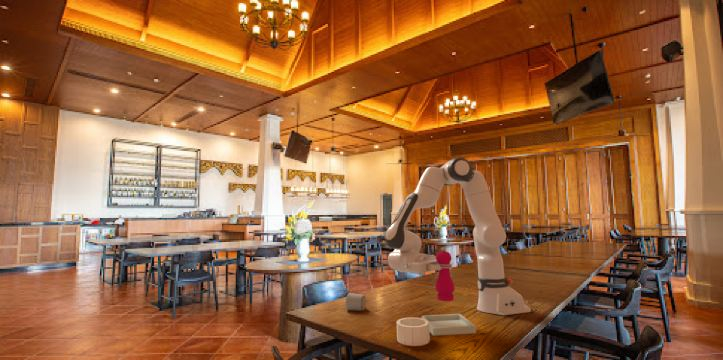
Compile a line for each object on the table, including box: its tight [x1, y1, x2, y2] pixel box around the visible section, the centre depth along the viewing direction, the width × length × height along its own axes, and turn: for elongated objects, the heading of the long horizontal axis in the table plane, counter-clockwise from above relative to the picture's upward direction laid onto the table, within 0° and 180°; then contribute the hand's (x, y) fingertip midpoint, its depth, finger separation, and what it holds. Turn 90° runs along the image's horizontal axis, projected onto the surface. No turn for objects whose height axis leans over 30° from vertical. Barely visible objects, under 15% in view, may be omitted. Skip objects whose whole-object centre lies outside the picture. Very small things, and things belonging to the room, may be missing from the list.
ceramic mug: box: [345, 292, 367, 312], centre depth 161 cm, size 11×8×8 cm
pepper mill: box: [435, 246, 455, 302], centre depth 134 cm, size 7×7×20 cm
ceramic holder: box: [396, 317, 431, 347], centre depth 119 cm, size 11×11×6 cm
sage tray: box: [421, 313, 477, 337], centre depth 132 cm, size 16×16×2 cm
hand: (446, 266), depth 133 cm, fingers closed on pepper mill, 5 cm apart
